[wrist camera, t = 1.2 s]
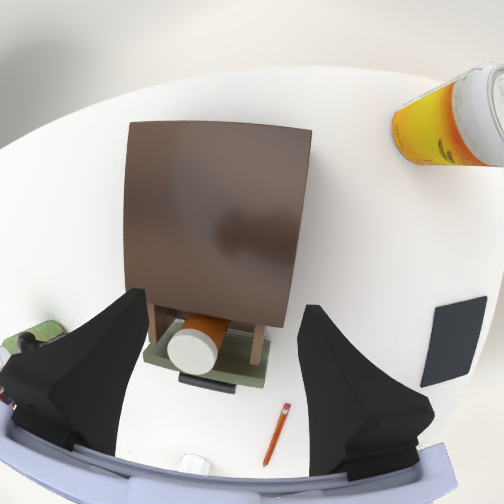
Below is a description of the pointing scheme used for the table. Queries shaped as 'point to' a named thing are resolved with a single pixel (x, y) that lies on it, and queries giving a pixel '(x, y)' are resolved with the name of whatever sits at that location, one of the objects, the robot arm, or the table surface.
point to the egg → (6, 397)
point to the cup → (194, 465)
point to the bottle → (197, 343)
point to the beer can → (456, 121)
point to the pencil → (277, 433)
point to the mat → (453, 340)
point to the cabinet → (214, 216)
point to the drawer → (228, 357)
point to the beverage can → (31, 339)
